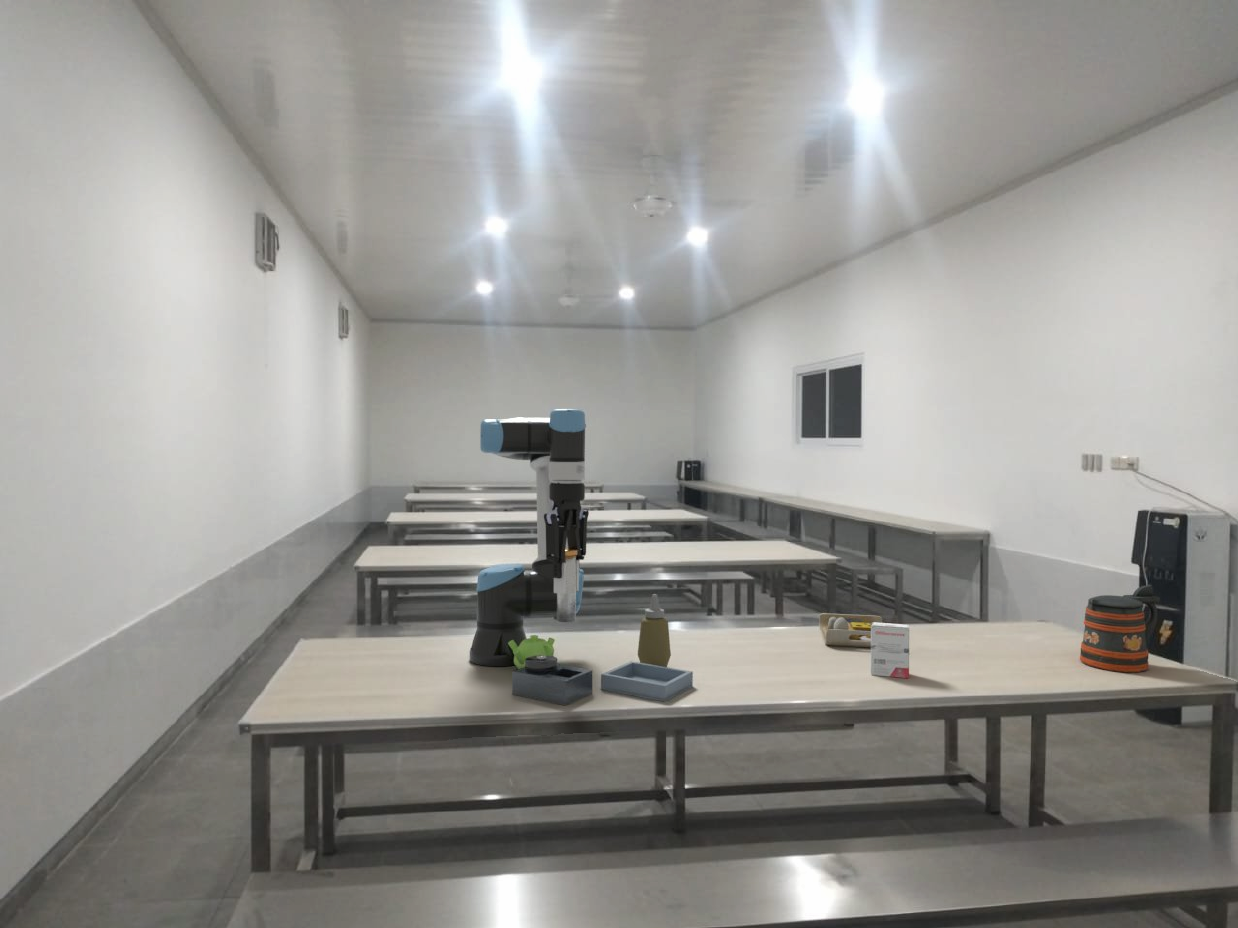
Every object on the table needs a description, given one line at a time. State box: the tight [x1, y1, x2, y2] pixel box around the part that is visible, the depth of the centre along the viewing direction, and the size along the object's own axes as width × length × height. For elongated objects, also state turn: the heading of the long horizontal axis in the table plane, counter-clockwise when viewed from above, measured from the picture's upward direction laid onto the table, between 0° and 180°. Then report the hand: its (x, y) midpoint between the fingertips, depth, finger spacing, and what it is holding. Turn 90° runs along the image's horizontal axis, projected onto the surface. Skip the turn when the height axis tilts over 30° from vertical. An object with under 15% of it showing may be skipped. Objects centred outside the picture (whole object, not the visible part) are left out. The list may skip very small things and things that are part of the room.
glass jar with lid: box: [556, 549, 577, 623], centre depth 170 cm, size 5×5×15 cm
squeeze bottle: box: [637, 593, 672, 667], centre depth 192 cm, size 8×8×18 cm
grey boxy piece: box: [511, 655, 593, 706], centre depth 172 cm, size 14×10×8 cm
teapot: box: [508, 634, 556, 669], centre depth 189 cm, size 11×12×8 cm
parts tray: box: [600, 660, 694, 702], centre depth 177 cm, size 16×13×3 cm
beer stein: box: [1079, 584, 1161, 674], centre depth 199 cm, size 19×15×20 cm
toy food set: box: [818, 612, 883, 649], centre depth 225 cm, size 25×18×8 cm
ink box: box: [870, 622, 910, 679], centre depth 189 cm, size 9×5×12 cm, turn 71°
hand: (566, 591), depth 170 cm, fingers closed on glass jar with lid, 4 cm apart
